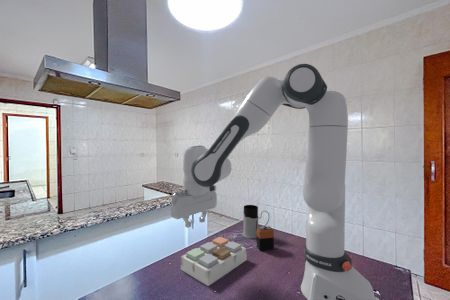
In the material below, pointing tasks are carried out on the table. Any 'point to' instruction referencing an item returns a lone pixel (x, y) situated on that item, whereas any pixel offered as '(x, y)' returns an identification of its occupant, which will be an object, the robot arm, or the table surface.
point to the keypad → (214, 262)
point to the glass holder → (251, 221)
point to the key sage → (195, 254)
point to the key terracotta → (220, 242)
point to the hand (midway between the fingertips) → (195, 224)
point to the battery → (265, 238)
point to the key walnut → (221, 253)
